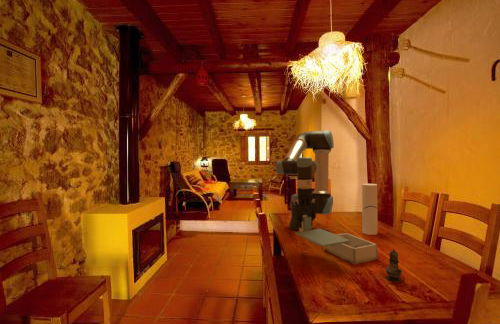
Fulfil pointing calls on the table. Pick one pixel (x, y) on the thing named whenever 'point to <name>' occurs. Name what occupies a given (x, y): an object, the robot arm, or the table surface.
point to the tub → (354, 250)
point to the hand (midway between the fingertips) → (305, 233)
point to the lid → (319, 235)
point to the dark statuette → (393, 268)
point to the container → (369, 209)
